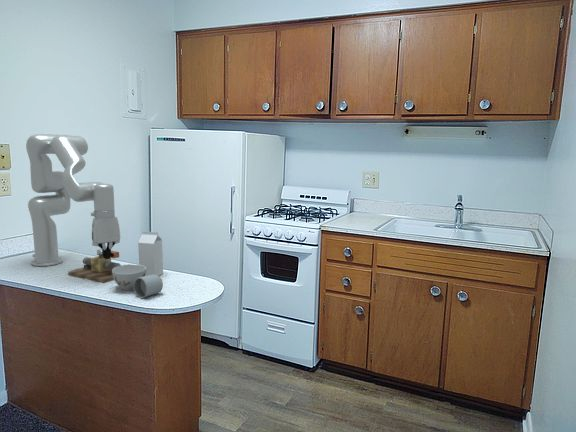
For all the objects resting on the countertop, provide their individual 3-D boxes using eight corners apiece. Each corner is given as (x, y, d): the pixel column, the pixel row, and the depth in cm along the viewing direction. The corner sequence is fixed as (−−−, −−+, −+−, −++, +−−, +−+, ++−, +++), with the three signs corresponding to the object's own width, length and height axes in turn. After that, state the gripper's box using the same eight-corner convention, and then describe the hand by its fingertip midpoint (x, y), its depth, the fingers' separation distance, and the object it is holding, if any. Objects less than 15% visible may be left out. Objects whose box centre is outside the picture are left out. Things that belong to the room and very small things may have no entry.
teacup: (129, 295, 157) (128, 274, 156) (105, 290, 163) (104, 270, 161) (158, 284, 170) (157, 265, 169) (135, 279, 176) (134, 261, 175)
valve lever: (95, 254, 181) (95, 249, 181) (101, 253, 184) (101, 248, 183) (113, 258, 176) (113, 253, 175) (119, 257, 178) (119, 251, 178)
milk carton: (155, 278, 178) (153, 234, 175) (139, 277, 179) (137, 233, 176) (163, 273, 185) (161, 230, 182) (148, 272, 186) (146, 229, 183)
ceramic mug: (164, 293, 159) (164, 274, 158) (147, 300, 153) (145, 279, 152) (146, 289, 165) (145, 269, 164) (128, 294, 158) (127, 274, 157)
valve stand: (68, 274, 181) (66, 255, 180) (100, 265, 195) (99, 247, 194) (103, 283, 171) (102, 262, 170) (134, 272, 185) (133, 254, 184)
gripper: (88, 217, 164) (90, 263, 167) (126, 214, 174) (128, 257, 177) (82, 214, 170) (84, 259, 173) (119, 211, 180) (121, 253, 183)
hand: (107, 258), depth 175 cm, fingers closed
